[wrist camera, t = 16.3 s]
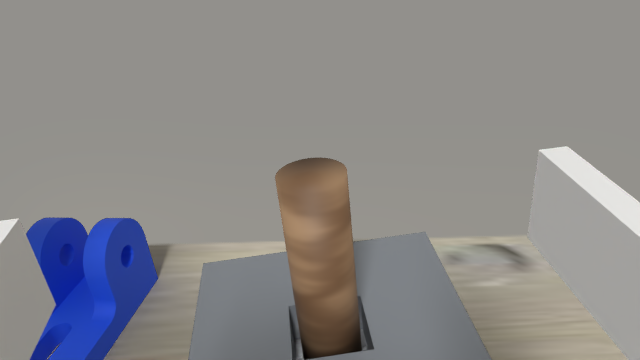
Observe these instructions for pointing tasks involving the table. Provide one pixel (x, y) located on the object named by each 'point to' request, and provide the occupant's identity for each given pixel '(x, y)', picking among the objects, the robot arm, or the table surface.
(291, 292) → the socket block
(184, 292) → the table surface
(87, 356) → the bracket
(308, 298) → the walnut dowel
